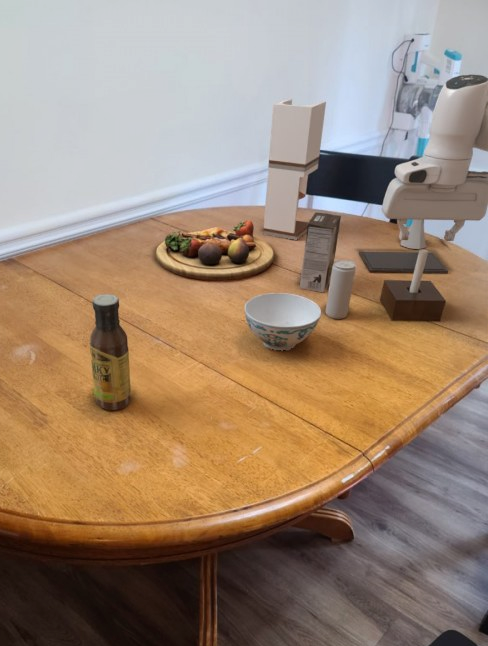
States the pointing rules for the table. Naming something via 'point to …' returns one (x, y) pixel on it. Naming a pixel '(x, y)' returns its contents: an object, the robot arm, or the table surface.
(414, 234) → the flask
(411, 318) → the stand
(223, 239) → the wooden plate
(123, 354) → the sauce bottle
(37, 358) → the table surface
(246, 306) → the chinaware
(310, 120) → the coffee grinder
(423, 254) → the stylus
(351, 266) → the beverage can
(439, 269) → the tablet
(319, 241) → the coffee box
